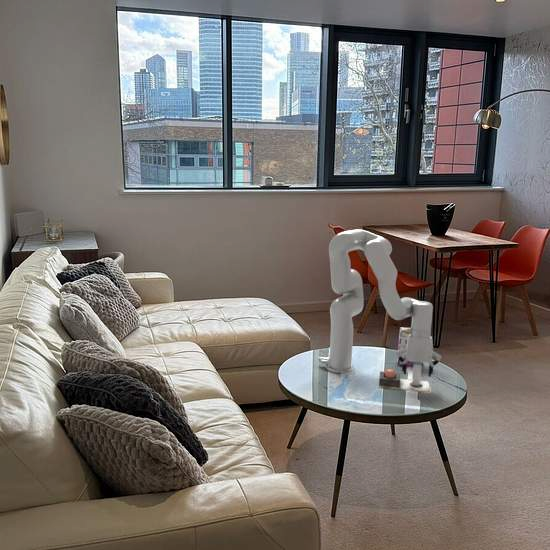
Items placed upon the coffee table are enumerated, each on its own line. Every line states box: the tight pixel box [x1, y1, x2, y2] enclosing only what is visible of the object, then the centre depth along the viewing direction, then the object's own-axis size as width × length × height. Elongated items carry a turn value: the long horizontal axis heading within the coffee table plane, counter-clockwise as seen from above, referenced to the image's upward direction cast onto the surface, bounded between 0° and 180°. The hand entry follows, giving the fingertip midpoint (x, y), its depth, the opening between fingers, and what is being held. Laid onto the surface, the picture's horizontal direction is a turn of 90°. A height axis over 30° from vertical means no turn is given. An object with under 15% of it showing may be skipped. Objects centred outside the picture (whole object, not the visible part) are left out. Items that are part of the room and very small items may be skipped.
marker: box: [411, 362, 423, 386], centre depth 231 cm, size 3×3×11 cm
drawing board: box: [378, 371, 432, 394], centre depth 232 cm, size 20×12×4 cm, turn 79°
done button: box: [384, 368, 396, 378], centre depth 233 cm, size 4×4×4 cm
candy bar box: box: [396, 326, 424, 368], centre depth 257 cm, size 11×5×16 cm, turn 84°
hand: (417, 374), depth 231 cm, fingers open, 9 cm apart
